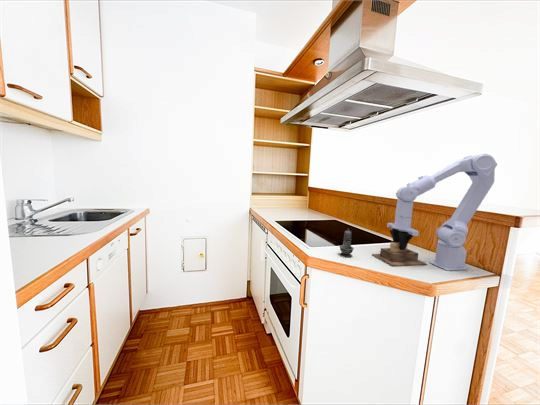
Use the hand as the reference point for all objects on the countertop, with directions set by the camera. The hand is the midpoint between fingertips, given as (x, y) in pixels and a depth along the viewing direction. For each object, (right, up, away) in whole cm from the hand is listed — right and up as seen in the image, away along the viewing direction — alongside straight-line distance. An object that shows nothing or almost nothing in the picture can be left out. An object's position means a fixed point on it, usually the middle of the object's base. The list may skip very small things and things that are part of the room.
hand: (399, 248), depth 93 cm
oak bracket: (-1, -4, 0) cm, 4 cm away
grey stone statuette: (-21, -4, +3) cm, 22 cm away
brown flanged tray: (0, -5, +1) cm, 5 cm away
